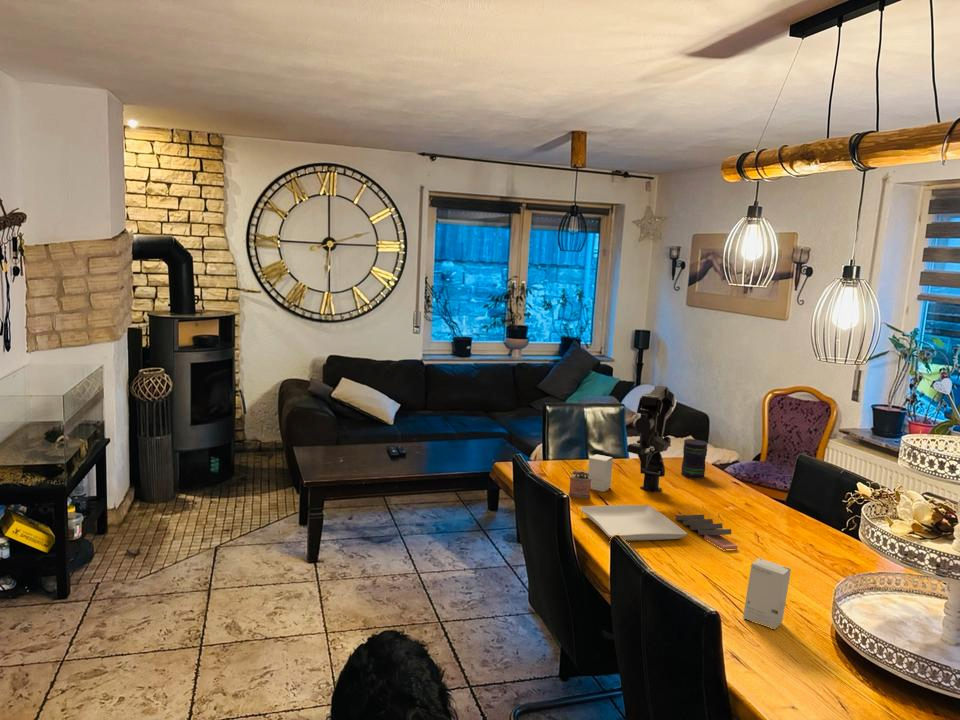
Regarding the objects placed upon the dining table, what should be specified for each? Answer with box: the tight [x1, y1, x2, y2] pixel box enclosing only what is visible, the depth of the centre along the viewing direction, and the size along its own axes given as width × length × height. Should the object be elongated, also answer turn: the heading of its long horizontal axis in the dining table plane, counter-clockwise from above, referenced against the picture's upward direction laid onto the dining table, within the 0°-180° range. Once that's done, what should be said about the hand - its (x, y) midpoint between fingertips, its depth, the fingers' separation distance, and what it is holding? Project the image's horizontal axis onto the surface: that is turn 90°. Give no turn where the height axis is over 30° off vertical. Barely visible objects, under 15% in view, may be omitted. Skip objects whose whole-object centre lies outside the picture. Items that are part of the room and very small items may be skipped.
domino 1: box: [675, 514, 705, 521], centre depth 243 cm, size 2×5×10 cm
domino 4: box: [697, 528, 732, 536], centre depth 230 cm, size 2×5×10 cm
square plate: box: [579, 504, 688, 542], centre depth 236 cm, size 27×27×4 cm
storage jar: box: [680, 438, 708, 480], centre depth 303 cm, size 10×10×15 cm
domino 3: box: [689, 522, 724, 531], centre depth 234 cm, size 2×5×10 cm
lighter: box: [568, 470, 592, 499], centre depth 266 cm, size 8×3×10 cm, turn 84°
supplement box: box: [587, 453, 614, 493], centre depth 278 cm, size 7×7×13 cm
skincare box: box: [742, 557, 792, 630], centre depth 175 cm, size 8×6×15 cm
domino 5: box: [704, 535, 738, 550], centre depth 226 cm, size 2×5×10 cm
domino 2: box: [682, 518, 714, 526], centre depth 238 cm, size 2×5×10 cm
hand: (644, 468), depth 267 cm, fingers closed
